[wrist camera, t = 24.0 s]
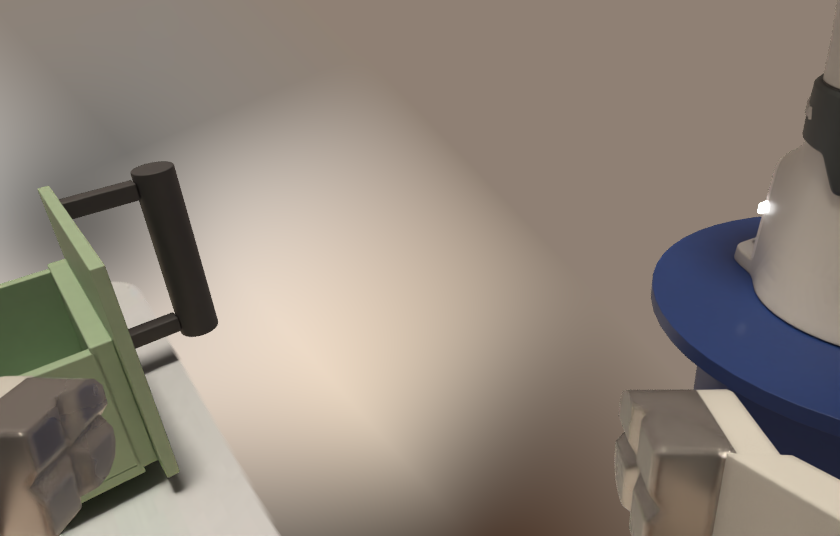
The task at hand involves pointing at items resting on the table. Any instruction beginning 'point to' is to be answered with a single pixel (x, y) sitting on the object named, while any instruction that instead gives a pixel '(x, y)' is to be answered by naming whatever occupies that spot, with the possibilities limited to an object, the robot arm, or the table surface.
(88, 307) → the green drawer
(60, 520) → the robot arm
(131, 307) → the table surface
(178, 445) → the table surface
